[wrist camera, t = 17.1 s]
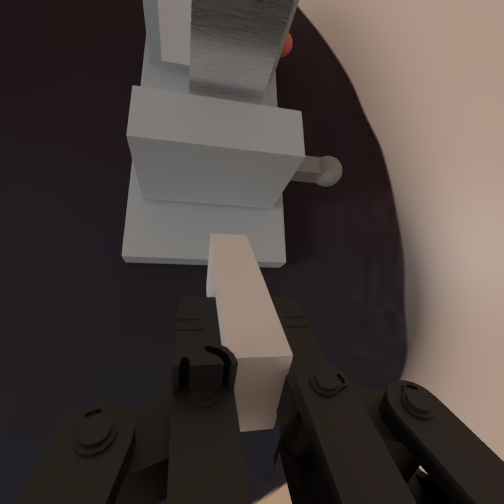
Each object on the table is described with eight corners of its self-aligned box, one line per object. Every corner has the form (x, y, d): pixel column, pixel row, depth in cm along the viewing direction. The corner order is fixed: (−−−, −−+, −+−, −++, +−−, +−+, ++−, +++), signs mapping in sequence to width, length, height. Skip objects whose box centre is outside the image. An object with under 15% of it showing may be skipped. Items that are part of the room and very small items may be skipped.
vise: (125, 262, 21) (91, 211, 13) (149, 37, 27) (136, -90, 19) (295, 268, 23) (352, 229, 15) (282, 62, 29) (318, -40, 22)
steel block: (187, 160, 22) (192, -29, 11) (191, 75, 25) (199, -151, 13) (240, 166, 23) (295, -4, 12) (239, 83, 25) (285, -124, 14)
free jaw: (142, 198, 20) (126, 135, 14) (147, 153, 21) (133, 77, 15) (321, 212, 23) (371, 164, 17) (318, 172, 24) (363, 114, 18)
